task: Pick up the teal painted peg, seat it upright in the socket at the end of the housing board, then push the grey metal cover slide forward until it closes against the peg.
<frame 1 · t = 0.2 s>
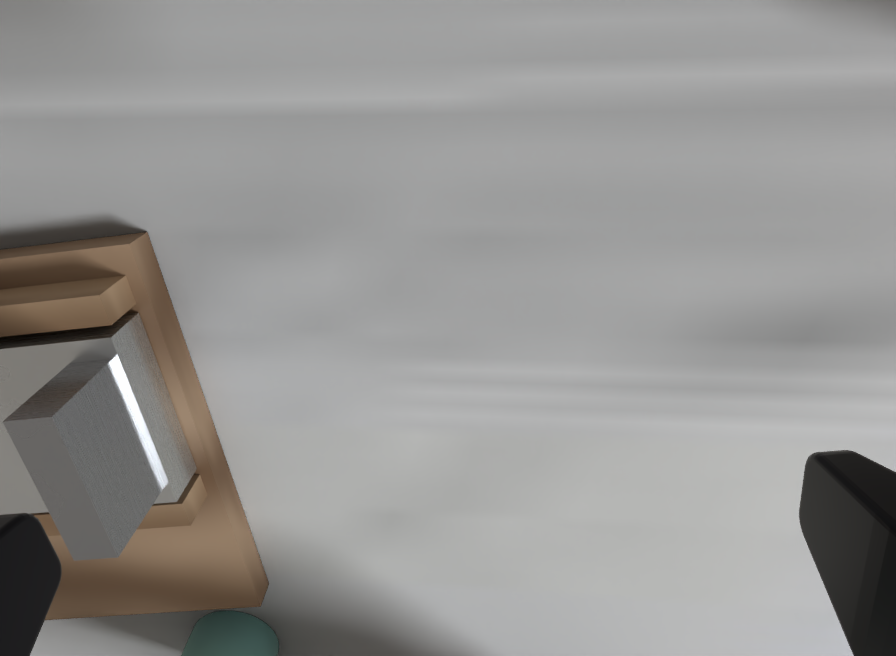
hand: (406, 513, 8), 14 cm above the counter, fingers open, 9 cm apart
cover slide: (2, 449, 21), point 4 cm above the counter, slide at 0.0 cm
teal peg: (235, 641, 30), on the counter
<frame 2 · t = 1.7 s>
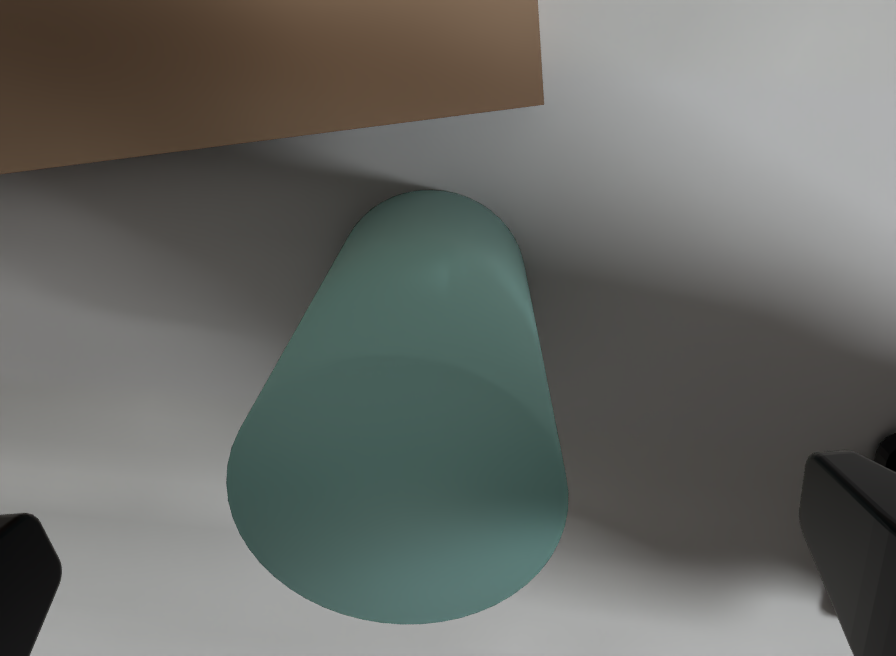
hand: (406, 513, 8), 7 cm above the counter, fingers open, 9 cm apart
teal peg: (431, 282, 14), on the counter
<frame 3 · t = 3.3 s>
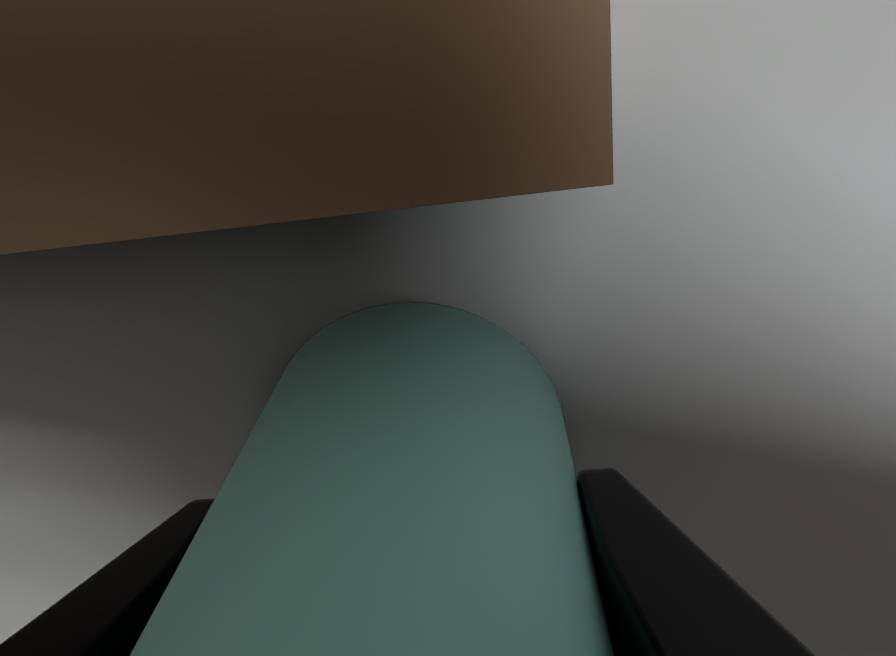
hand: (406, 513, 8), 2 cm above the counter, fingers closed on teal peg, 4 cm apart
teal peg: (417, 436, 9), on the counter, touching gripper
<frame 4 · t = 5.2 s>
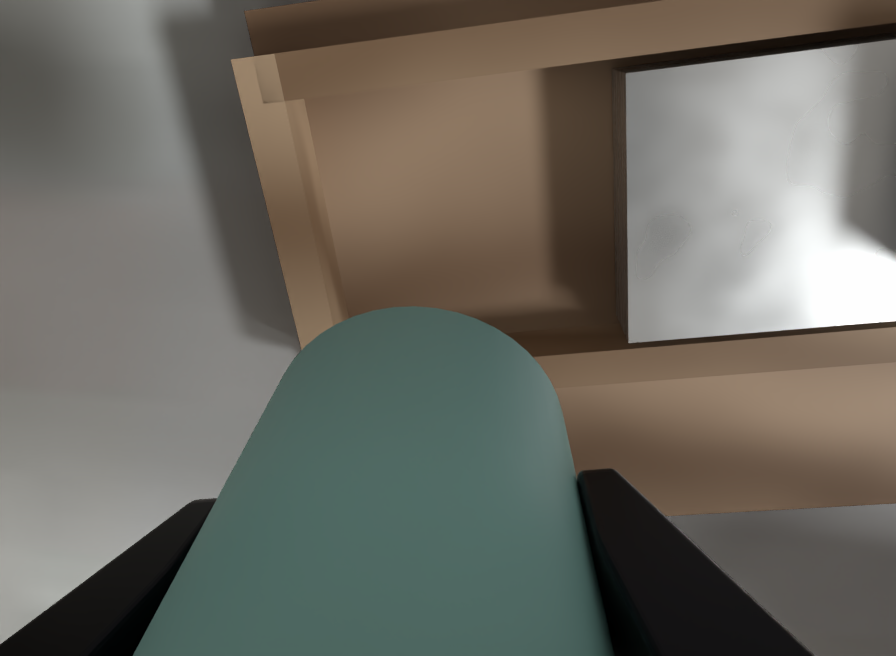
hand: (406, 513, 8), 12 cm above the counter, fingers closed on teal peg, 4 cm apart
cover slide: (846, 206, 14), point 4 cm above the counter, slide at 0.0 cm
teal peg: (417, 440, 9), point 11 cm above the counter, touching gripper
housing board: (625, 273, 19), on the counter
when the fingers open (4 cm above the counter, at t = 7.4 s): teal peg drops 1 cm, resting on housing board.
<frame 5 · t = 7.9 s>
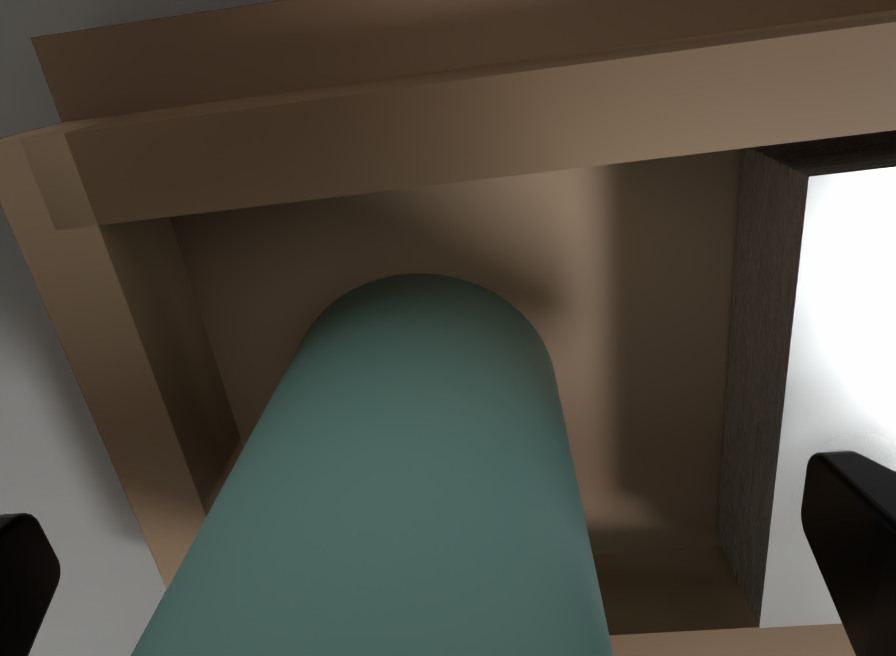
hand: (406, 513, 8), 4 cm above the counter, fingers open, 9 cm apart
teal peg: (424, 396, 10), point 1 cm above the counter, touching housing board
housing board: (724, 453, 12), on the counter
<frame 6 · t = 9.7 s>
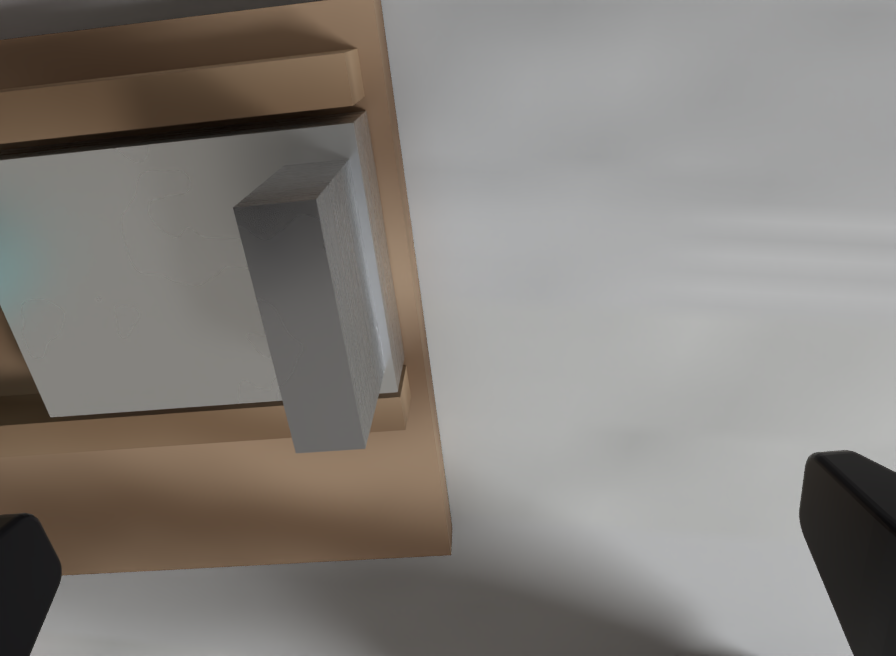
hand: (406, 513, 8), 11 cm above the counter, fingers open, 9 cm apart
cover slide: (171, 299, 14), point 4 cm above the counter, slide at 0.0 cm
housing board: (118, 337, 19), on the counter
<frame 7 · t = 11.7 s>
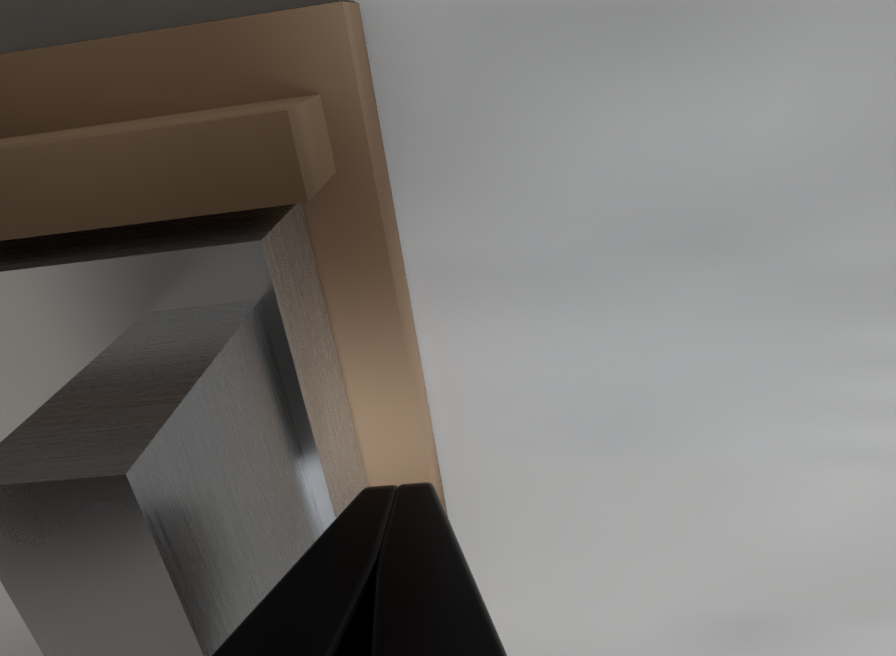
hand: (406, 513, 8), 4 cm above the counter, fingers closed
housing board: (0, 507, 13), on the counter
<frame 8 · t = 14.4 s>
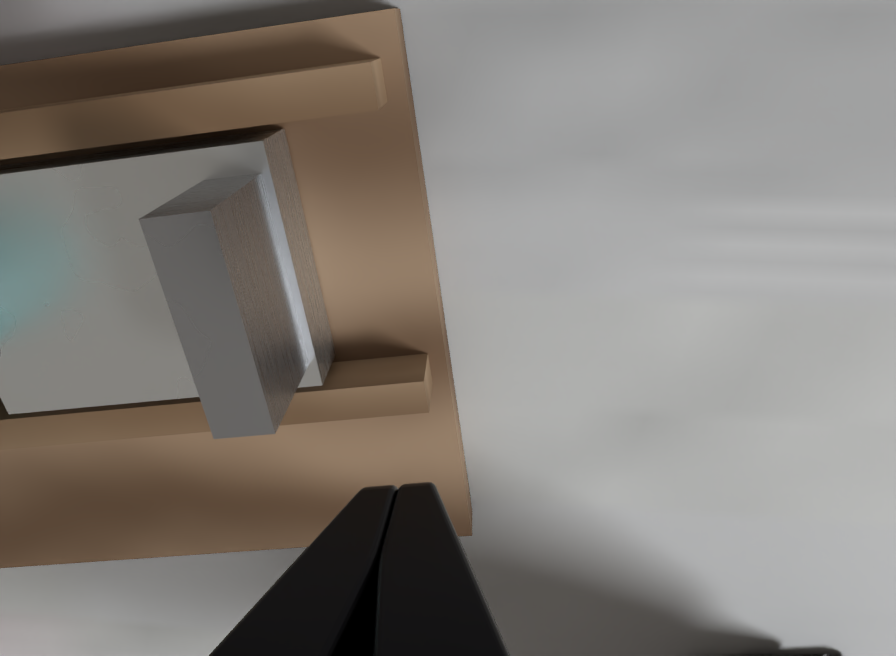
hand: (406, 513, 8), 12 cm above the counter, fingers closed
cover slide: (107, 303, 16), point 4 cm above the counter, slide at 2.7 cm, touching teal peg
housing board: (157, 332, 20), on the counter
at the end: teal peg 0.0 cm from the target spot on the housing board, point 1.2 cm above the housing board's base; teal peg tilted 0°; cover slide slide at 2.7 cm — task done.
